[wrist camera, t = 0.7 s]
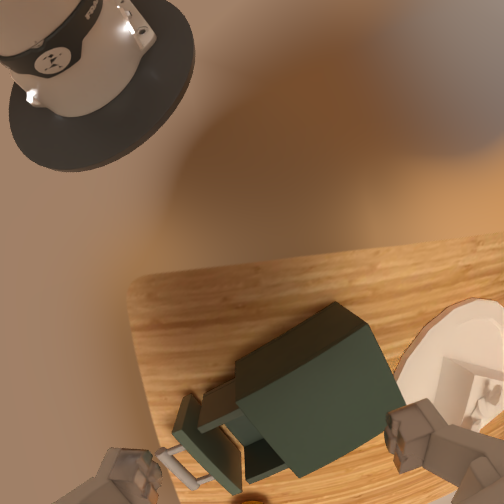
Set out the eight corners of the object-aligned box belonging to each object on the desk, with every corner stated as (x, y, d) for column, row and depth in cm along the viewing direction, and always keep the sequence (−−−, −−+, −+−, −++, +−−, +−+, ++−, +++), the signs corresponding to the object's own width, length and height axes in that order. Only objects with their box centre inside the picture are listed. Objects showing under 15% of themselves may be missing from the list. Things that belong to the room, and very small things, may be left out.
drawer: (205, 467, 32) (200, 506, 25) (154, 410, 31) (138, 446, 24) (316, 415, 32) (333, 451, 25) (272, 349, 31) (282, 379, 24)
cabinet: (286, 431, 33) (299, 478, 24) (235, 361, 32) (234, 402, 23) (376, 377, 33) (410, 413, 24) (335, 301, 32) (367, 323, 23)
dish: (370, 471, 34) (398, 521, 23) (396, 306, 33) (454, 333, 22) (490, 428, 35) (527, 457, 24) (521, 289, 34) (574, 301, 23)
